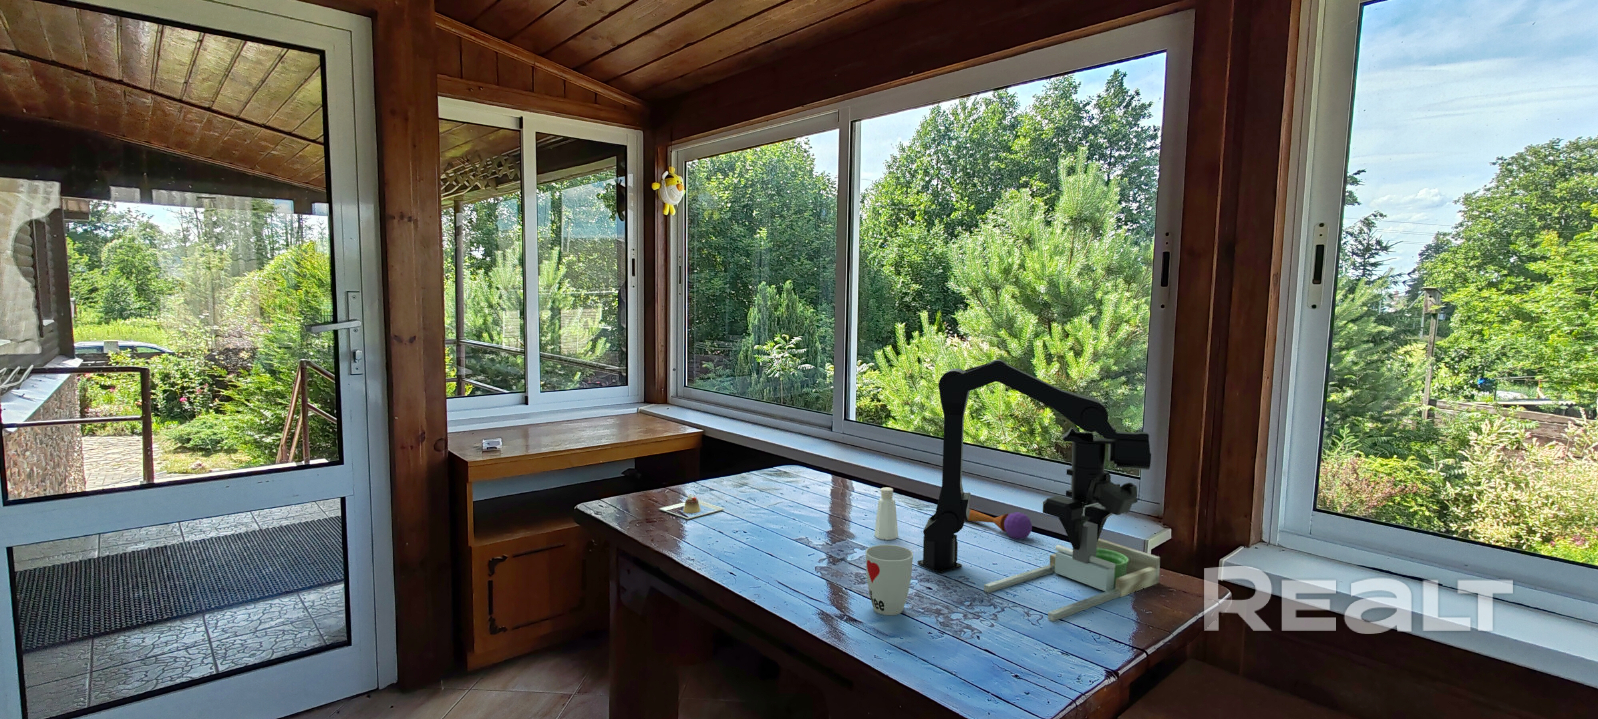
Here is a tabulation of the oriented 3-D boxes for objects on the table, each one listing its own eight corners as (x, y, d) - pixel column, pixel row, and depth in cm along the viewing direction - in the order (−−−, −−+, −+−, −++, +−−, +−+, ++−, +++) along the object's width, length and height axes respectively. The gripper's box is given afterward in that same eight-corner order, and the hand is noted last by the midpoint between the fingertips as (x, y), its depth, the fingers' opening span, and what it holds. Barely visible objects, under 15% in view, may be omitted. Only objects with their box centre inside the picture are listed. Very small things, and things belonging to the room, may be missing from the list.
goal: (1054, 621, 118) (1055, 592, 118) (983, 590, 131) (983, 563, 131) (1158, 582, 136) (1160, 557, 135) (1087, 558, 148) (1088, 534, 148)
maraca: (971, 501, 177) (1038, 514, 161) (969, 525, 177) (1036, 541, 160) (954, 500, 174) (1021, 514, 157) (952, 524, 174) (1018, 541, 157)
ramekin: (1069, 577, 138) (1070, 555, 138) (1089, 565, 144) (1090, 544, 144) (1116, 591, 132) (1117, 567, 131) (1135, 578, 138) (1136, 556, 138)
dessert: (725, 512, 181) (725, 494, 181) (687, 522, 172) (687, 503, 172) (695, 503, 189) (695, 485, 189) (658, 512, 181) (658, 494, 180)
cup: (861, 599, 127) (861, 544, 126) (905, 598, 127) (906, 543, 127) (869, 619, 119) (870, 561, 118) (917, 618, 119) (918, 560, 119)
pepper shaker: (899, 540, 159) (900, 491, 158) (875, 539, 159) (875, 491, 158) (896, 532, 164) (897, 485, 164) (873, 532, 165) (873, 485, 164)
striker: (1107, 592, 129) (1110, 533, 129) (1051, 571, 139) (1053, 516, 139) (1117, 589, 131) (1119, 530, 130) (1061, 568, 141) (1063, 514, 140)
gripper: (1096, 480, 122) (1092, 569, 123) (1157, 467, 132) (1153, 550, 133) (1042, 468, 131) (1039, 551, 132) (1103, 456, 141) (1099, 533, 142)
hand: (1084, 546), depth 135 cm, fingers open, 5 cm apart
